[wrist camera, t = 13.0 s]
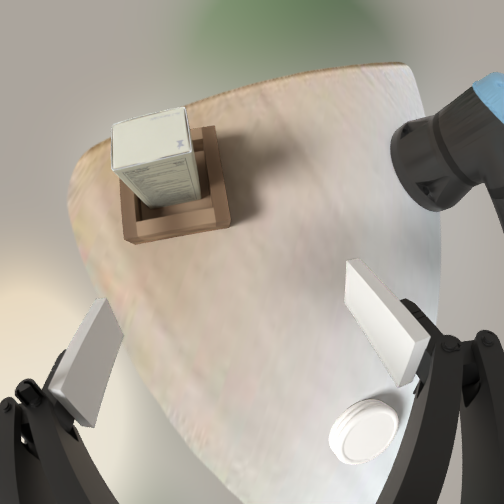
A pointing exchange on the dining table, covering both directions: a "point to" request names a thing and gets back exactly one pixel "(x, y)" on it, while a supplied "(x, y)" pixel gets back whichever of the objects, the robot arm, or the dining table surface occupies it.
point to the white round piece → (363, 431)
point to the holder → (184, 214)
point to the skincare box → (156, 157)
